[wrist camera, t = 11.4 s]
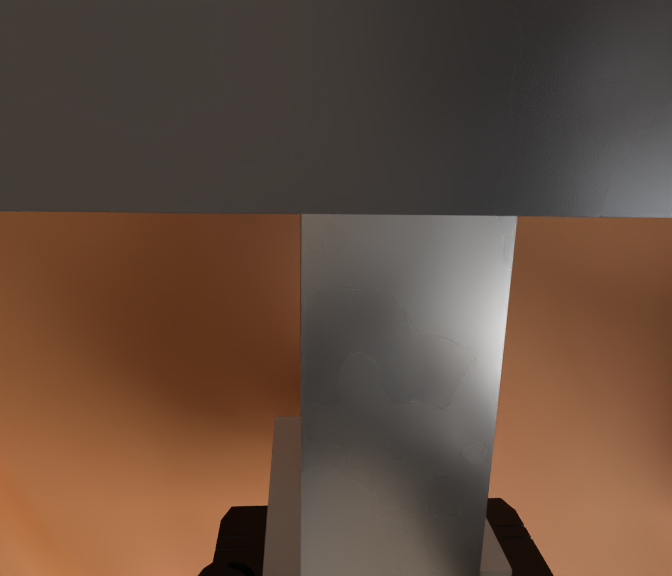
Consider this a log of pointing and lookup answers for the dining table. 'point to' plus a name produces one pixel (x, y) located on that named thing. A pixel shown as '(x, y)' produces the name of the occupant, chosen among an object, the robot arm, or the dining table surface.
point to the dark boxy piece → (337, 107)
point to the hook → (399, 389)
